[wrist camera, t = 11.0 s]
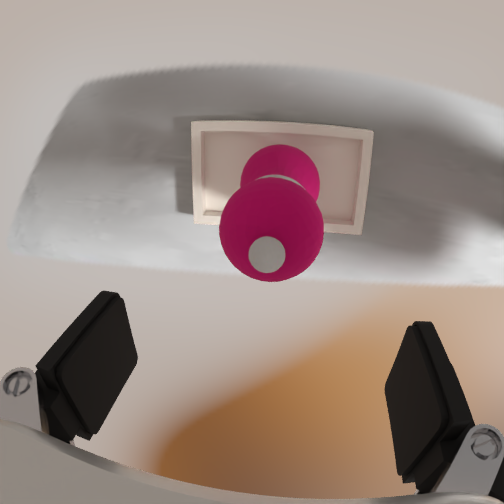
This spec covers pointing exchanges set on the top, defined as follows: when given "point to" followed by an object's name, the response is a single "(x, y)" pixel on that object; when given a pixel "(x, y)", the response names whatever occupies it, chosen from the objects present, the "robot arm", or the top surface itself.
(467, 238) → the top surface
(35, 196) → the top surface
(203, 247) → the top surface
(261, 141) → the tray
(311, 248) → the pepper mill
